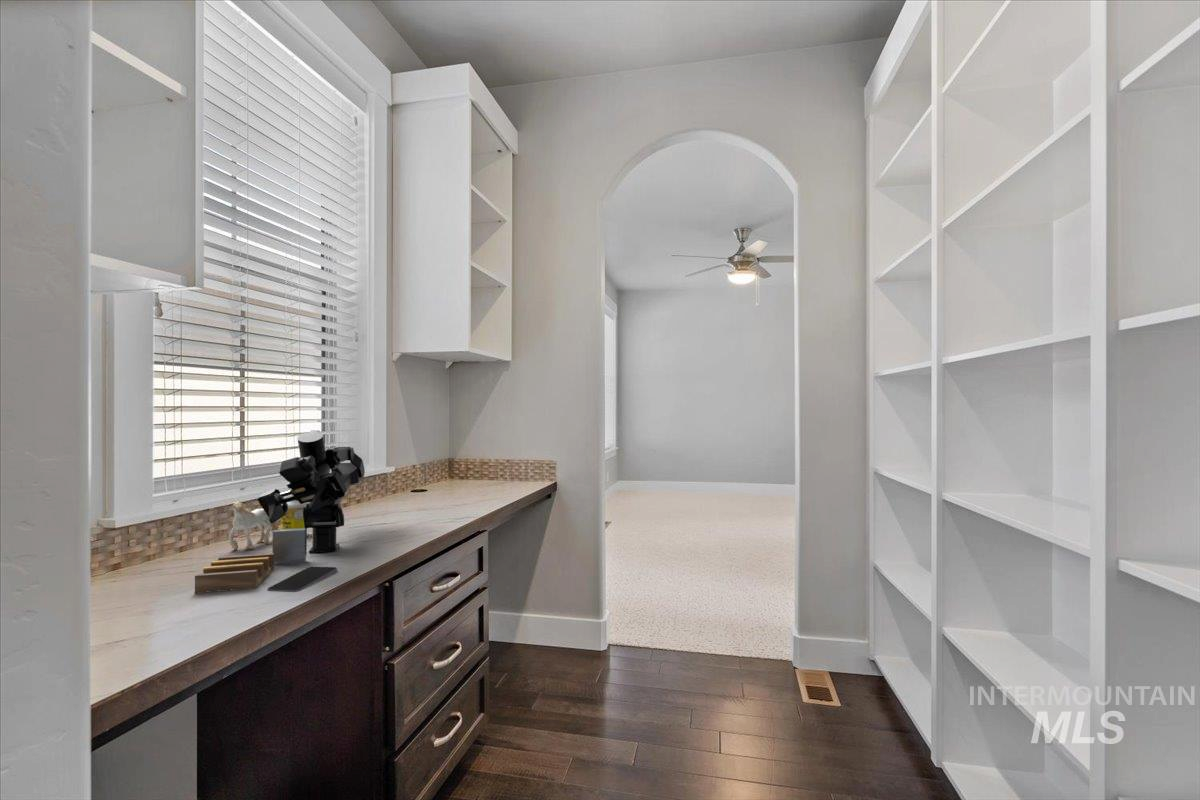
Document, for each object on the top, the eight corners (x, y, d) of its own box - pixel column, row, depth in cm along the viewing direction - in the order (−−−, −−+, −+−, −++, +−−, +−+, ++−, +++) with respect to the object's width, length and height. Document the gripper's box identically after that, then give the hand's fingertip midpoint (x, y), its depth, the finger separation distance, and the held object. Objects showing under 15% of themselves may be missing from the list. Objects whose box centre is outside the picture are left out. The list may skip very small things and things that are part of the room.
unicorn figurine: (214, 558, 142) (214, 504, 142) (253, 539, 161) (253, 492, 162) (245, 557, 143) (245, 504, 143) (280, 539, 162) (280, 492, 162)
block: (274, 563, 138) (274, 530, 138) (306, 560, 140) (306, 528, 140) (272, 565, 136) (272, 531, 136) (304, 562, 138) (305, 529, 138)
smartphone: (264, 589, 118) (309, 566, 133) (264, 594, 118) (309, 571, 133) (297, 590, 117) (339, 567, 132) (297, 596, 117) (339, 572, 132)
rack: (220, 572, 130) (220, 555, 130) (273, 568, 134) (274, 551, 134) (194, 593, 116) (194, 574, 116) (255, 588, 119) (255, 569, 119)
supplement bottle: (276, 536, 165) (276, 492, 165) (299, 532, 170) (299, 489, 170) (288, 540, 161) (288, 494, 161) (311, 535, 166) (311, 491, 166)
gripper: (259, 462, 137) (231, 499, 123) (334, 440, 138) (314, 474, 124) (281, 498, 142) (257, 538, 128) (354, 477, 143) (337, 514, 129)
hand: (290, 515), depth 127 cm, fingers open, 9 cm apart
